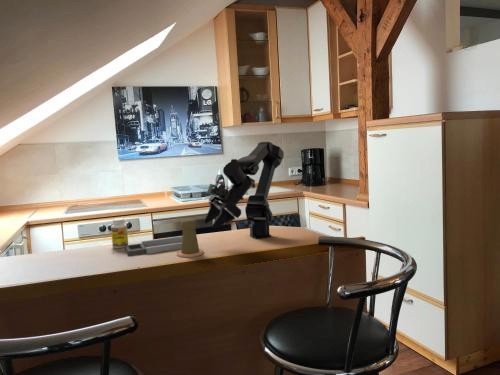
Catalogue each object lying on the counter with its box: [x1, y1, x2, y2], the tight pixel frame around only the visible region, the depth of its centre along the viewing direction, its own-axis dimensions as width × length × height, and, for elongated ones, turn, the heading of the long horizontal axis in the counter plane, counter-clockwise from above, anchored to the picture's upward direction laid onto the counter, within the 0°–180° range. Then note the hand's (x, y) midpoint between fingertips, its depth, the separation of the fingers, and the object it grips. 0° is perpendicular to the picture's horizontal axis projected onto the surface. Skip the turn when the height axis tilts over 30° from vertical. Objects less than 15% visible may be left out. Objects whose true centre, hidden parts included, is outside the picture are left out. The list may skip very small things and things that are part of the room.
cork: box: [180, 218, 200, 254], centre depth 138 cm, size 6×6×11 cm
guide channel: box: [141, 235, 183, 255], centre depth 149 cm, size 16×11×2 cm
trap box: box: [124, 242, 147, 257], centre depth 144 cm, size 6×9×2 cm, turn 23°
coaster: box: [176, 248, 205, 258], centre depth 139 cm, size 9×9×1 cm
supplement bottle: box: [110, 217, 129, 249], centre depth 151 cm, size 6×6×10 cm
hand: (208, 225), depth 141 cm, fingers open, 9 cm apart
